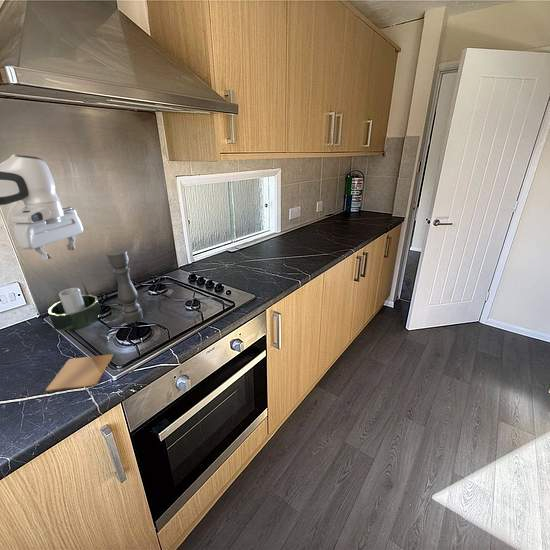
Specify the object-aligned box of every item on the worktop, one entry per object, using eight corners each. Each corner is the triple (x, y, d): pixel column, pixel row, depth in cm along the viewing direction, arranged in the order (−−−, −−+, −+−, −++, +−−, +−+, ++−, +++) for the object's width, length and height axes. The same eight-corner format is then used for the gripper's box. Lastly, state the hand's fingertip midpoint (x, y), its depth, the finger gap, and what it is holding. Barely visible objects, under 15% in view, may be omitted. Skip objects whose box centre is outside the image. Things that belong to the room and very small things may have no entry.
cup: (65, 324, 102) (54, 296, 97) (73, 315, 107) (64, 288, 103) (84, 322, 102) (74, 294, 98) (91, 313, 108) (83, 287, 104)
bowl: (45, 332, 97) (38, 317, 95) (67, 311, 111) (62, 296, 108) (91, 328, 99) (86, 312, 97) (108, 307, 112) (104, 293, 110)
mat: (45, 391, 73) (45, 390, 73) (69, 360, 84) (69, 358, 84) (96, 385, 74) (96, 383, 74) (113, 355, 85) (113, 353, 85)
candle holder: (120, 323, 101) (101, 255, 91) (131, 314, 107) (114, 249, 97) (136, 324, 100) (119, 255, 90) (146, 315, 106) (131, 249, 96)
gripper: (65, 205, 100) (77, 244, 105) (3, 218, 82) (22, 264, 87) (81, 205, 99) (92, 244, 104) (22, 218, 80) (39, 265, 86)
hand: (60, 254), depth 95 cm, fingers open, 8 cm apart
